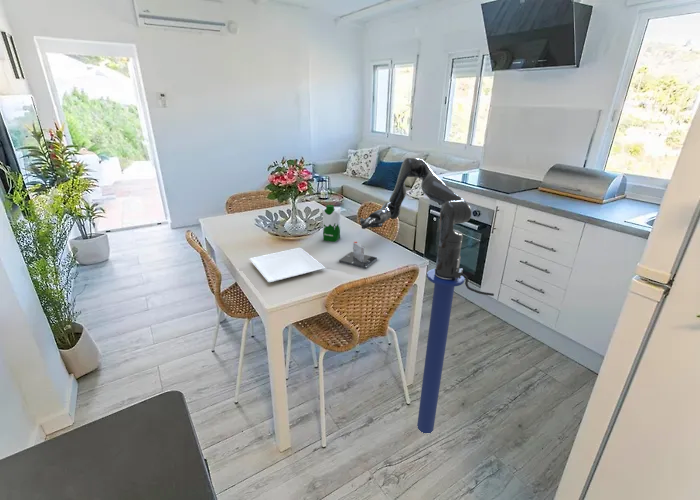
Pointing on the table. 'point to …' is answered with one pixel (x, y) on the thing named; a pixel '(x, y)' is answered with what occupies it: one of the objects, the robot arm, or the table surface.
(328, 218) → the milk carton
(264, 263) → the plate
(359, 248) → the grey rectangular block
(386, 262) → the table surface
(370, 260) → the panel
